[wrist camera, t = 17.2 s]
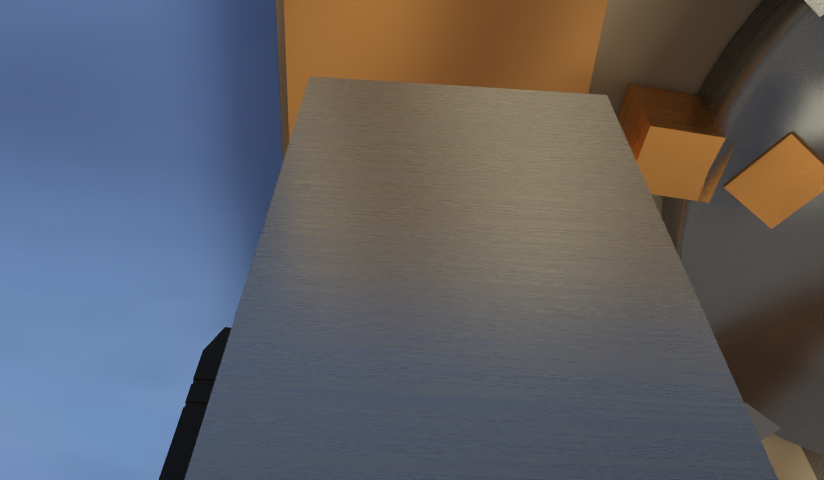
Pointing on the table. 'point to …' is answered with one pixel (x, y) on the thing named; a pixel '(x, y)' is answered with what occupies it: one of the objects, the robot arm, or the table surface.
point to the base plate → (515, 60)
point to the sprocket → (751, 208)
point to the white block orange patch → (468, 304)
